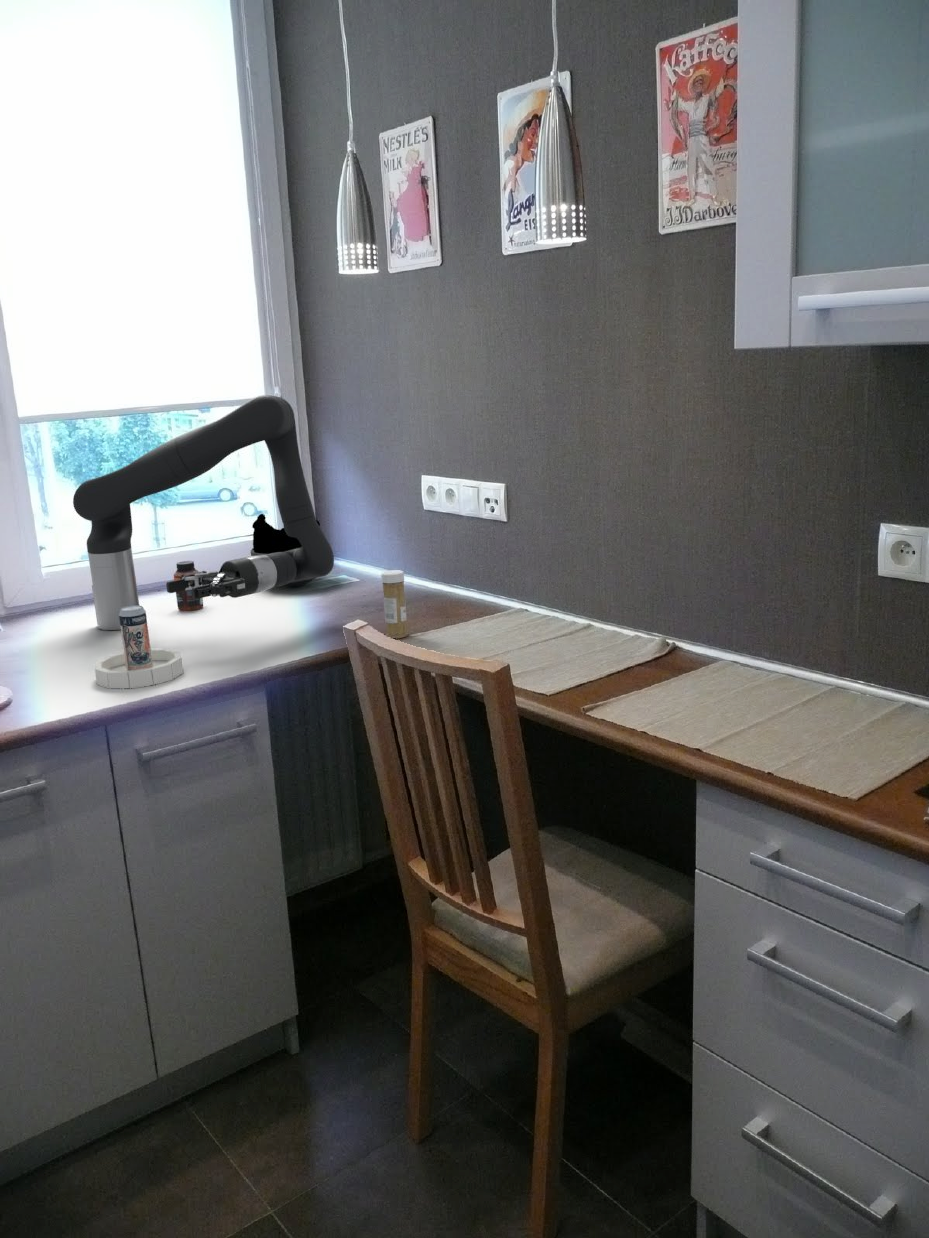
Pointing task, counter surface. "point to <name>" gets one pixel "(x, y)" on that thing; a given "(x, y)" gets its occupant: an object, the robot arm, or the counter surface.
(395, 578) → the sprinkles bottle
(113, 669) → the white segmented ring
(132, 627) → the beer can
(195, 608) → the supplement bottle
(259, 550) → the coal bowl
